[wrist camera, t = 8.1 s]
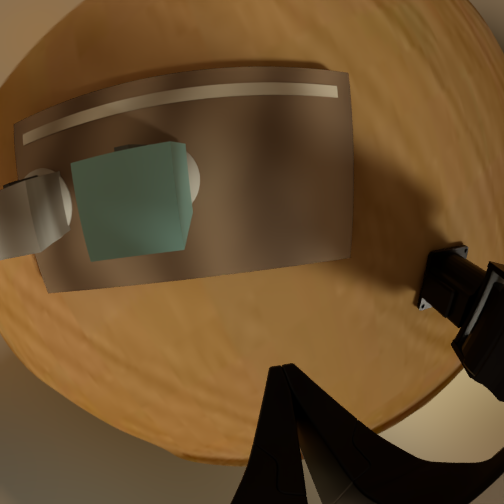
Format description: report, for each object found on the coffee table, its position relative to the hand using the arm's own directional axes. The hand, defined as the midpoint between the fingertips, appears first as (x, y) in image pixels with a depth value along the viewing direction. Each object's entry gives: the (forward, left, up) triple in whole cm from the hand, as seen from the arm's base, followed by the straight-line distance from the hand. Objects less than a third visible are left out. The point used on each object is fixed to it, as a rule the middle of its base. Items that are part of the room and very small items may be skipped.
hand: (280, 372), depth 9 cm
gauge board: (+4, -6, -11) cm, 13 cm away
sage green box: (+5, -6, -10) cm, 12 cm away
